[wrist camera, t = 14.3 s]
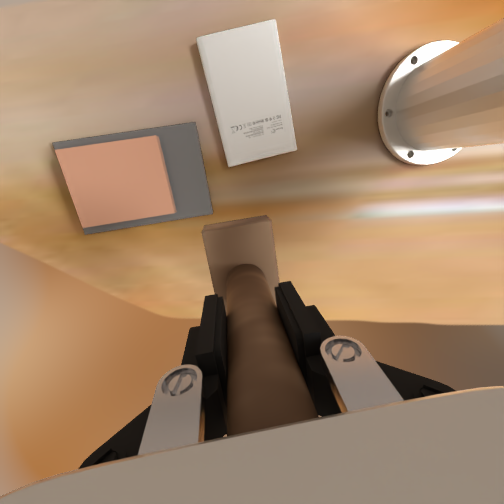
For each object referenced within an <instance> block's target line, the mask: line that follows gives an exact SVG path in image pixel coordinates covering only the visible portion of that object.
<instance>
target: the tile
mask: <svg viewBox="0 0 504 504" xmlns="http://www.w3.org/2000/svg"><path fill="white" fill-rule="evenodd" d="M55 152H56V155H57V158H58V161H59V164H60V166H61V169H62V172H63V175H64V178H65V180H66V183H67V186H68V189H69V192H70V194H71V197H72V200H73V203H74V206H75V208H76V211H77V214H78V217H79V219H80V222H81V225H82V228H86V227H93V226H99V225H105V224H111V223H117V222H123V221H129V220H136V219H142V218H148V217H154V216H160V215H166V214H172V213H176V212H177V211H176V207H175V203H174V199H173V194H172V190H171V186H170V182H169V178H168V173H167V169H166V165H165V161H164V157H163V152H162V148H161V144H160V140H159V137H158V136H156V135H154V136H148V137H141V138H134V139H127V140H120V141H113V142H106V143H99V144H92V145H85V146H78V147H71V148H64V149H57V150H55Z"/></svg>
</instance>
